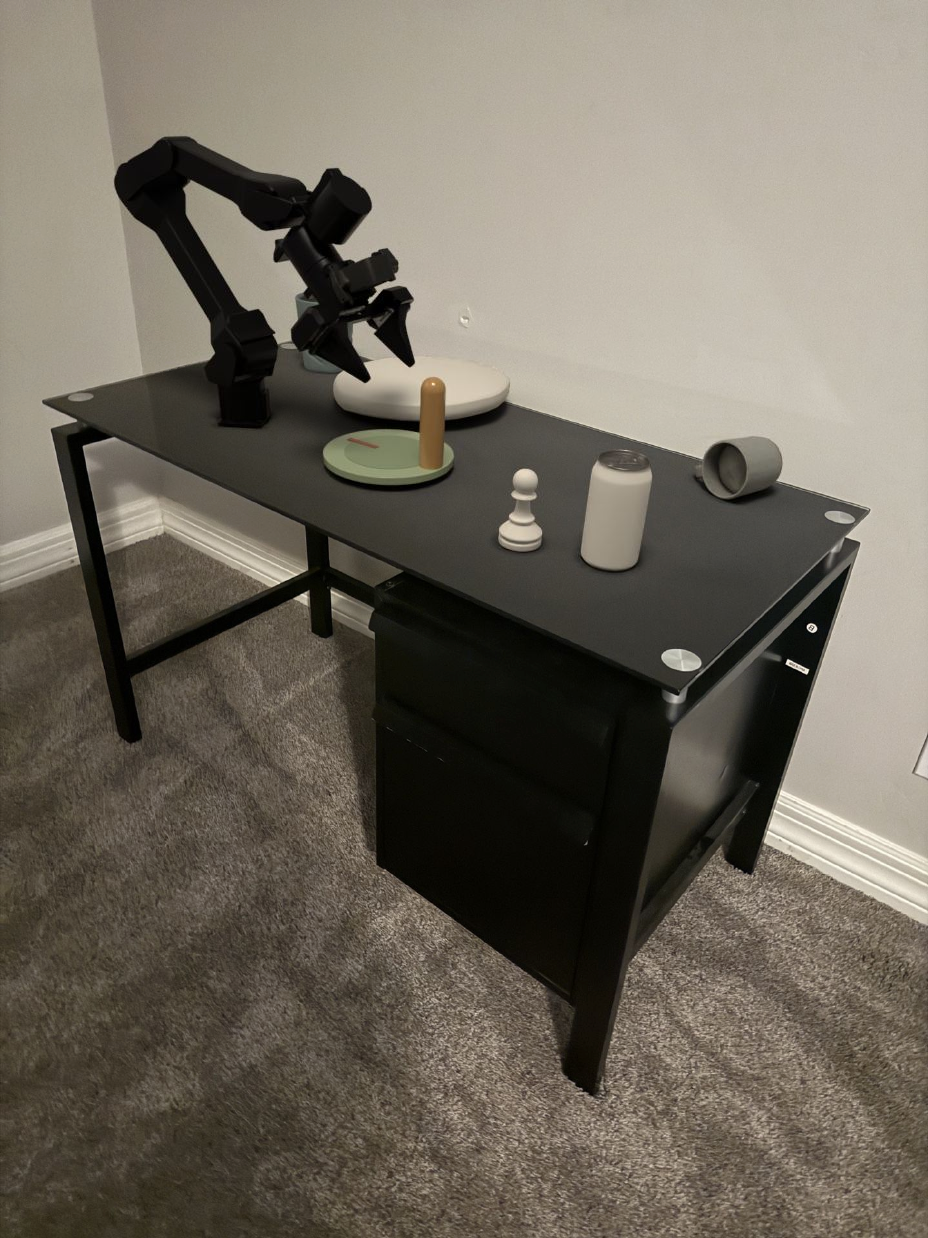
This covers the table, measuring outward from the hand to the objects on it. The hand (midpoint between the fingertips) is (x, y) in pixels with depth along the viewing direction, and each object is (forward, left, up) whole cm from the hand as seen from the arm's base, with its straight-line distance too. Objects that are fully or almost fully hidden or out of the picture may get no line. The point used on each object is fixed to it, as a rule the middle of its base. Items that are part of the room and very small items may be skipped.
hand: (391, 372), depth 112 cm
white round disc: (+3, +26, -13) cm, 29 cm away
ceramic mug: (+46, -2, -13) cm, 48 cm away
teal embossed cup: (-15, +45, -13) cm, 49 cm away
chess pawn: (+17, -21, -13) cm, 30 cm away
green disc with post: (0, 0, -13) cm, 13 cm away
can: (+27, -24, -13) cm, 38 cm away
